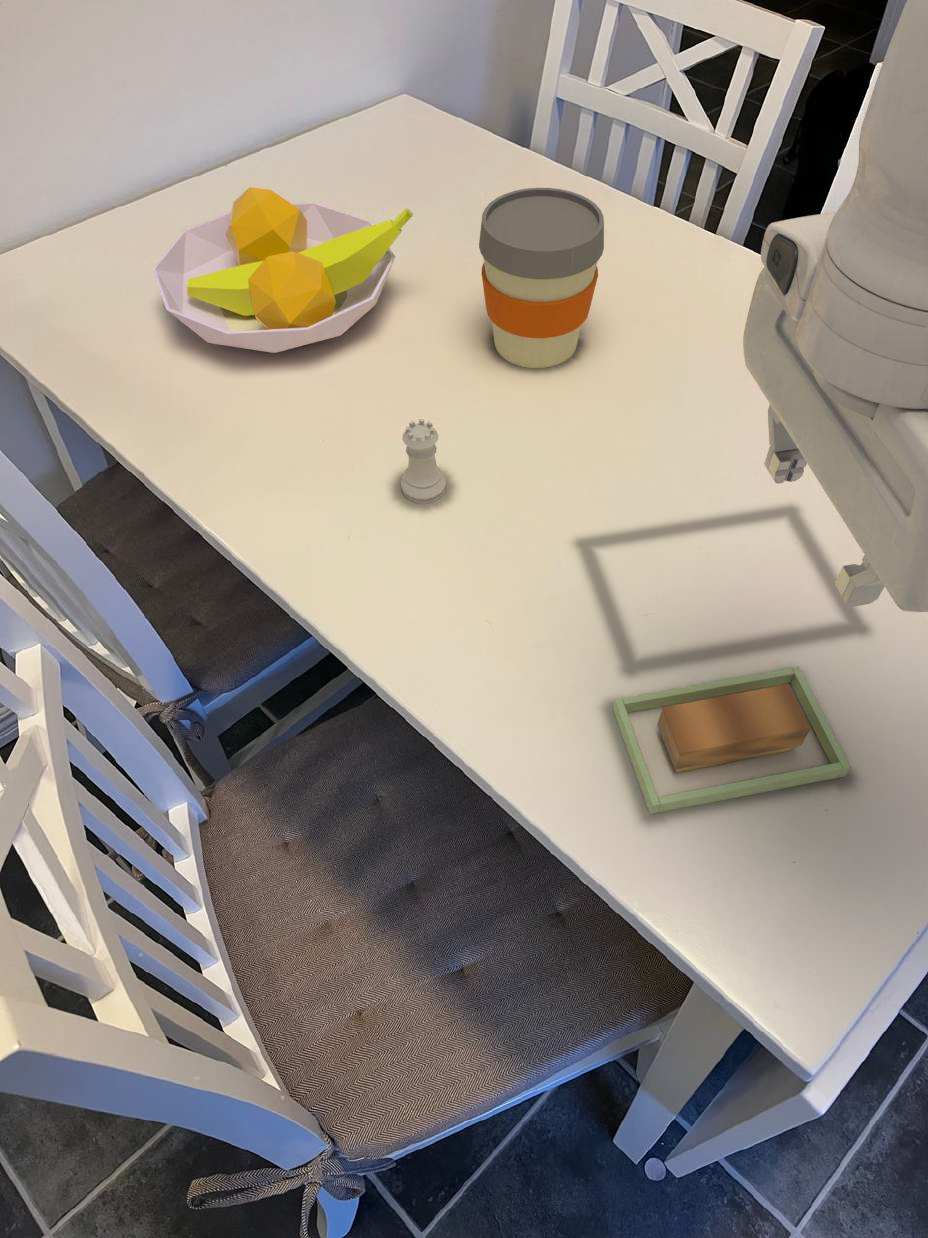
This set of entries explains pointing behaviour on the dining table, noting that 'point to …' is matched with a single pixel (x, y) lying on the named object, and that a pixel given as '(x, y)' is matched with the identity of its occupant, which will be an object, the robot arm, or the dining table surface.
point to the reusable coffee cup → (539, 272)
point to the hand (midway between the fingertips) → (815, 531)
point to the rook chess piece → (422, 464)
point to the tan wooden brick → (732, 727)
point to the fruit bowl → (277, 271)
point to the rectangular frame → (742, 788)
